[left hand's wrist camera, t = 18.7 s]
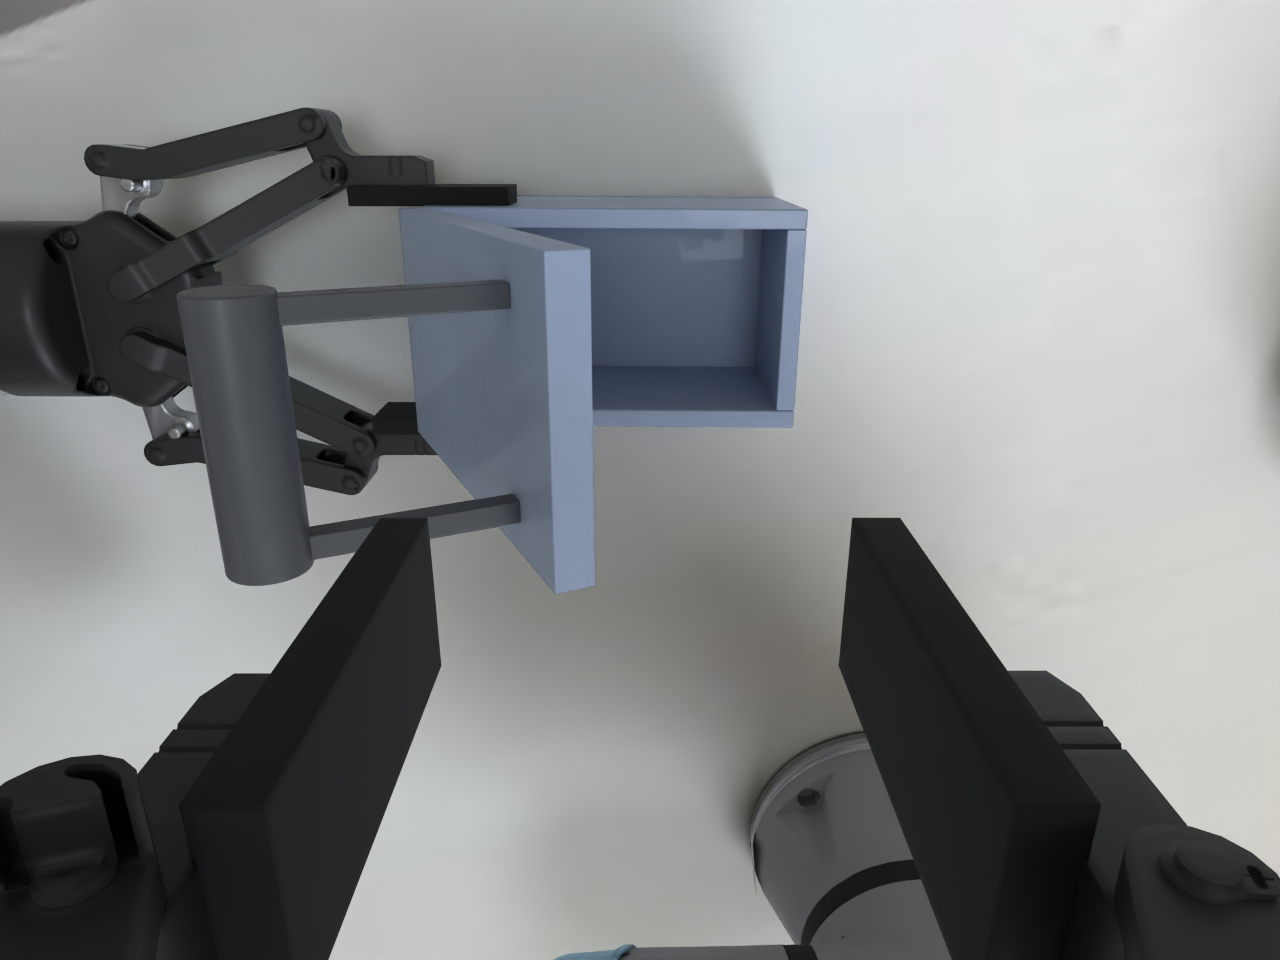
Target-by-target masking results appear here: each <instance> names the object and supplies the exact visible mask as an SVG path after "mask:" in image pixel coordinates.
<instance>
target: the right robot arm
mask: <svg viewBox="0 0 1280 960" xmlns="http://www.w3.org/2000/svg"><path fill="white" fill-rule="evenodd" d="M341 130H342V124H341V121H340V119H339V117H338V116H337V115H336V114H335V113H334V112H332V111H329V110H323V109H314V108H300V109H296V110H293V111H289V112H285V113H281V114H277V115H273V116H269V117H266V118H262V119H258V120H254V121H250V122H246V123H242V124H239V125H235V126H231V127H227V128H223V129H219V130H215V131H212V132H208V133H204V134H200V135H196V136H192V137H188V138H185V139H181V140H177V141H173V142H169V143H165V144H161V145H158V146H154V147H145V146H137V145H91V146H90V147H88V148H87V150H86V151H85V155H84V160H85V163H86V166H87V167H88V169H89V170H90V171H91V172H93V173H94V174H96V175H99V176H100V180H101V191H102V203H103V212H100V213H98V214H96V215H95V216H93V217H92V218H90V219H88V220H86V221H0V396H2V395H7V394H12V395H17V396H113V397H118V398H121V399H124V400H126V401H129V402H130V403H132V404H135V405H137V406H141V407H143V410H144V413H145V416H146V419H147V423H148V426H149V429H150V432H151V435H152V438H153V440H152V441H150V442H149V443H148V444H147V445H146V446H145V448H144V455H145V457H146V459H147V460H148V461H149V462H150V463H151V464H154V465H156V466H167V465H176V464H185V463H194V462H199V463H204V464H206V461H205V455H204V449H203V444H202V438H201V433H200V427H199V421H198V416H197V413H195V412H191V411H185V410H183V409H181V408H179V407H178V406H177V405H176V404H175V402H174V400H173V397H175V396H176V395H177V394H179V393H180V392H181V391H182V390H184V389H185V388H186V387H187V386H188V385H189V386H191V387H192V382H191V376H190V371H189V365H188V359H187V354H186V348H185V343H184V337H183V331H182V326H181V320H180V314H179V309H178V303H177V298H176V297H177V294H178V293H179V292H182V291H184V290H188V289H193V288H199V287H207V286H218V285H223V283H222V277H221V272H215V270H214V268H213V265H215V264H217V263H218V262H220V261H222V260H224V259H226V258H227V257H229V256H231V255H233V254H234V253H236V252H237V251H238V250H239V249H241V248H242V247H244V246H246V245H248V244H249V243H251V242H253V241H255V240H257V239H258V238H260V237H262V236H264V235H265V234H267V233H269V232H271V231H273V230H274V229H276V228H278V227H280V226H281V225H283V224H285V223H287V222H288V221H290V220H292V219H294V218H296V217H297V216H299V215H301V214H303V213H304V212H306V211H308V210H310V209H311V208H313V207H315V206H317V205H319V204H320V203H322V202H324V201H326V200H327V199H329V198H331V197H333V196H334V195H336V194H338V193H340V192H342V191H343V190H345V189H347V195H348V204H349V206H425V205H448V206H509V205H512V204H514V203H516V202H517V187H516V184H435V176H434V162H433V160H430V159H428V158H425V157H423V156H365V155H360V154H357V153H356V152H354V151H353V150H352V149H351V148H350V147H349V145H348V144H347V142H346V140H345V137H344V135H343V133H342V131H341ZM304 147H307V149H308V151H309V153H310V155H311V157H312V160H313V163H311V164H309V165H308V166H306V167H304V168H302V169H301V170H299V171H297V172H295V173H294V174H292V175H290V176H288V177H287V178H285V179H283V180H281V181H280V182H278V183H276V184H274V185H273V186H271V187H269V188H268V189H266V190H264V191H262V192H261V193H259V194H257V195H255V196H254V197H252V198H250V199H248V200H247V201H245V202H243V203H241V204H240V205H238V206H236V207H234V208H233V209H231V210H229V211H227V212H226V213H224V214H222V215H220V216H219V217H217V218H215V219H214V220H212V221H210V222H208V223H207V224H205V225H203V226H201V227H200V228H198V229H196V230H193V231H191V232H188V233H186V234H184V235H182V236H180V237H178V238H177V237H175V236H174V235H172V234H171V233H169V232H168V231H166V230H165V229H163V228H162V227H160V226H159V225H157V224H156V223H154V222H153V221H151V220H150V219H148V218H147V217H145V216H144V215H142V214H140V213H139V212H138V209H139V205H140V203H141V202H142V201H143V200H144V199H146V198H152V197H155V196H157V195H158V194H159V193H160V192H161V189H162V186H163V181H162V179H175V178H185V177H190V176H195V175H198V174H202V173H206V172H210V171H214V170H218V169H222V168H226V167H230V166H234V165H238V164H242V163H245V162H249V161H253V160H257V159H261V158H265V157H269V156H273V155H277V154H281V153H285V152H288V151H292V150H296V149H300V148H304ZM289 382H290V389H291V396H292V404H293V411H294V418H295V425H296V429H297V430H299V431H301V432H303V433H305V434H308V435H310V436H312V437H314V438H316V439H319V440H321V441H323V442H325V443H327V444H329V445H325V444H321V443H316V442H312V441H307V440H303V439H298V438H297V440H298V447H299V455H300V462H301V469H302V476H303V484H304V485H306V486H311V487H315V488H320V489H324V490H329V491H334V492H338V493H343V494H348V495H355V494H358V493H359V492H360V491H362V489H363V488H364V487H365V486H366V485H367V483H368V482H369V481H370V480H371V478H372V477H373V476H374V475H375V473H376V472H377V470H378V460H379V457H380V456H382V455H438V454H437V453H436V452H435V451H434V450H433V448H432V447H431V446H430V445H429V444H428V442H427V441H426V440H425V439H424V438H423V436H422V435H421V434H420V433H419V432H418V423H417V412H416V402H388V403H387V404H386V405H385V406H384V407H383V408H382V409H381V410H380V411H379V412H378V413H377V414H376V415H375V416H374V415H371V414H369V413H367V412H365V411H363V410H361V409H359V408H356V407H354V406H352V405H350V404H348V403H346V402H344V401H341V400H339V399H337V398H335V397H333V396H331V395H329V394H326V393H324V392H322V391H320V390H318V389H316V388H314V387H311V386H309V385H307V384H305V383H303V382H301V381H299V380H296V379H294V378H292V377H290V376H289ZM330 445H332V446H330Z"/></svg>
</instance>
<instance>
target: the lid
mask: <svg viewBox="0 0 1280 960" xmlns="http://www.w3.org/2000/svg"><path fill="white" fill-rule="evenodd" d="M399 216H400V228H401V239H402V251H403V262H404V274H405V285H398V286H381V287H364V288H347V289H330V290H313V291H296V292H279V293H277V290H276V289H275V288H273V287H270V286H264V285H218V286H207V287H199V288H193V289H188V290H184V291H182V292H179V293H178V294H177V297H176V298H177V303H178V309H179V314H180V320H181V326H182V331H183V337H184V343H185V348H186V354H187V359H188V365H189V371H190V376H191V382H192V388H193V393H194V399H195V404H196V410H197V416H198V421H199V427H200V433H201V438H202V444H203V449H204V455H205V461H206V466H207V472H208V478H209V483H210V489H211V494H212V500H213V506H214V511H215V517H216V523H217V528H218V534H219V539H220V545H221V551H222V556H223V562H224V568H225V573H226V576H227V577H228V579H229V580H231V581H232V582H234V583H237V584H241V585H248V586H262V585H271V584H276V583H281V582H285V581H288V580H291V579H293V578H296V577H298V576H300V575H302V574H304V573H305V572H307V571H308V570H309V569H310V568H311V567H312V565H313V562H314V560H315V559H320V558H326V557H331V556H337V555H343V554H348V553H354V552H357V550H358V549H359V547H360V546H361V544H362V543H363V542H364V540H365V539H366V537H367V536H368V534H369V533H370V532H371V530H372V529H373V527H374V526H375V524H376V523H377V522H378V520H379V519H380V518H428V527H429V538H430V539H432V538H438V537H443V536H449V535H454V534H460V533H466V532H471V531H477V530H482V529H488V528H494V527H499V528H500V529H501V530H502V532H503V533H504V534H505V535H506V536H507V537H508V539H509V540H510V541H511V542H512V543H513V545H514V546H515V547H516V548H517V549H518V551H519V552H520V553H521V554H522V555H523V557H524V558H525V559H526V560H527V561H528V562H529V564H530V565H531V566H532V567H533V568H534V570H535V571H536V572H537V573H538V574H539V576H540V577H541V578H542V579H543V580H544V581H545V583H546V584H547V585H548V586H549V587H550V589H551V590H552V591H553V592H554V593H555V594H558V593H563V592H568V591H572V590H577V589H581V588H586V587H591V586H594V585H595V552H594V480H593V408H592V336H591V264H590V249H589V248H586V247H582V246H578V245H574V244H570V243H566V242H562V241H558V240H554V239H550V238H547V237H543V236H539V235H535V234H531V233H527V232H523V231H519V230H515V229H511V228H507V227H503V226H499V225H495V224H491V223H487V222H483V221H479V220H475V219H471V218H467V217H463V216H459V215H455V214H452V213H448V212H444V211H440V210H436V209H432V208H400V209H399ZM405 316H408V320H409V331H410V343H411V354H412V366H413V377H414V389H415V400H416V412H417V423H418V432H419V433H420V434H421V435H422V436H423V438H424V439H425V440H426V441H427V442H428V444H429V445H430V446H431V447H432V448H433V450H434V451H435V452H436V453H437V454H438V455H439V457H440V458H441V459H442V460H443V461H444V463H445V464H446V465H447V466H448V467H449V469H450V470H451V471H452V472H453V473H454V474H455V476H456V477H457V478H458V479H459V480H460V482H461V483H462V484H463V485H464V486H465V488H466V489H467V490H468V491H469V492H470V494H471V495H472V496H473V497H474V498H475V499H476V500H470V501H464V502H458V503H452V504H446V505H440V506H434V507H427V508H421V509H415V510H409V511H403V512H397V513H391V514H385V515H379V516H372V517H366V518H360V519H354V520H348V521H342V522H336V523H330V524H324V525H318V526H311V527H309V520H308V513H307V505H306V498H305V491H304V484H303V476H302V469H301V462H300V455H299V447H298V440H297V433H296V425H295V418H294V411H293V404H292V396H291V389H290V382H289V375H288V367H287V360H286V353H285V346H284V338H283V331H282V325H296V324H310V323H323V322H337V321H350V320H364V319H378V318H391V317H405Z"/></svg>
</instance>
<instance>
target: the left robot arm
mask: <svg viewBox="0 0 1280 960" xmlns="http://www.w3.org/2000/svg"><path fill="white" fill-rule="evenodd" d="M440 667H441V658H440V647H439V636H438V625H437V614H436V603H435V592H434V582H433V571H432V560H431V549H430V538H429V527H428V518H380V519H379V520H378V522H377V523H376V524H375V526H374V527H373V529H372V530H371V532H370V533H369V534H368V536H367V537H366V539H365V540H364V542H363V543H362V544H361V546H360V547H359V549H358V550H357V552H356V553H355V554H354V556H353V557H352V559H351V560H350V561H349V563H348V564H347V566H346V567H345V569H344V570H343V571H342V573H341V574H340V576H339V577H338V579H337V580H336V581H335V583H334V584H333V586H332V587H331V589H330V590H329V591H328V593H327V594H326V596H325V597H324V598H323V600H322V601H321V603H320V604H319V606H318V607H317V608H316V610H315V611H314V613H313V614H312V616H311V617H310V618H309V620H308V621H307V623H306V624H305V626H304V627H303V628H302V630H301V631H300V633H299V634H298V635H297V637H296V638H295V640H294V641H293V643H292V644H291V645H290V647H289V648H288V650H287V651H286V653H285V654H284V655H283V657H282V658H281V660H280V661H279V663H278V664H277V665H276V667H275V668H274V670H273V671H272V673H271V674H233V675H231V676H230V677H228V678H227V679H225V680H224V681H222V682H221V683H220V684H218V685H217V686H215V687H214V688H212V689H211V690H209V691H208V692H206V693H205V694H203V695H202V696H200V697H199V698H198V699H197V701H196V702H195V703H194V704H193V706H192V707H191V708H190V709H189V711H188V712H187V713H186V714H185V716H184V717H183V718H182V719H181V721H180V722H179V723H178V728H177V730H173V731H172V732H171V733H170V734H169V736H168V737H167V738H166V739H165V741H164V742H163V743H162V744H161V746H160V750H159V753H154V754H153V756H152V757H151V758H150V759H149V760H148V762H147V763H146V764H145V765H144V767H143V768H142V769H141V770H140V772H139V773H138V774H137V771H136V769H135V768H133V767H132V766H131V765H130V764H129V763H127V762H126V761H125V760H124V759H120V758H115V757H110V756H104V755H91V756H80V757H70V758H66V759H63V760H59V761H56V762H52V763H49V764H45V765H42V766H38V767H36V768H34V769H32V770H30V771H28V772H25V773H23V774H21V775H19V776H17V777H15V778H13V779H11V780H9V781H7V782H5V783H4V784H2V785H1V786H0V960H328V959H329V957H330V954H331V951H332V949H333V946H334V944H335V941H336V938H337V936H338V933H339V931H340V928H341V925H342V923H343V920H344V918H345V915H346V912H347V910H348V907H349V904H350V902H351V899H352V897H353V894H354V891H355V889H356V886H357V884H358V881H359V878H360V876H361V873H362V871H363V868H364V865H365V863H366V860H367V858H368V855H369V852H370V850H371V847H372V845H373V842H374V839H375V837H376V834H377V832H378V829H379V826H380V824H381V821H382V819H383V816H384V813H385V811H386V808H387V806H388V803H389V800H390V798H391V795H392V792H393V790H394V787H395V785H396V782H397V779H398V777H399V774H400V772H401V769H402V766H403V764H404V761H405V759H406V756H407V753H408V751H409V748H410V746H411V743H412V740H413V738H414V735H415V733H416V730H417V727H418V725H419V722H420V720H421V717H422V714H423V712H424V709H425V707H426V704H427V701H428V699H429V696H430V694H431V691H432V688H433V686H434V683H435V681H436V678H437V675H438V673H439V670H440ZM839 667H840V670H841V673H842V675H843V678H844V680H845V683H846V686H847V688H848V691H849V693H850V696H851V699H852V701H853V704H854V707H855V709H856V712H857V714H858V717H859V720H860V722H861V725H862V727H863V730H864V733H860V734H854V735H848V736H844V737H840V738H837V739H833V740H830V741H828V742H825V743H822V744H820V745H818V746H816V747H813V748H811V749H809V750H808V751H806V752H804V753H802V754H801V755H799V756H798V757H796V758H795V759H793V760H792V761H791V762H789V763H788V764H787V765H786V766H785V767H783V768H782V769H781V770H780V771H779V772H778V773H777V774H776V775H775V776H774V777H773V779H772V780H771V781H770V782H769V784H768V785H767V786H766V788H765V789H764V791H763V792H762V794H761V796H760V798H759V800H758V802H757V804H756V807H755V809H754V812H753V816H752V820H751V827H750V843H751V851H752V859H753V871H754V882H755V888H756V881H755V872H756V876H757V878H758V881H759V883H760V885H761V888H762V890H763V892H764V894H765V896H766V898H767V899H768V901H769V903H770V904H771V906H772V908H773V909H774V911H775V913H776V914H777V916H778V917H779V919H780V921H781V922H782V924H783V925H784V927H785V929H786V930H787V932H788V933H789V935H790V937H791V938H792V940H793V942H794V943H795V945H756V946H713V947H652V948H637V947H635V946H634V945H630V944H627V945H623V946H621V947H619V948H617V949H616V950H609V951H597V952H585V953H573V954H566V955H563V956H560V957H558V958H556V959H554V960H1280V878H1279V876H1278V875H1277V873H1275V872H1274V871H1273V870H1272V869H1271V868H1269V867H1268V866H1267V865H1266V864H1265V863H1263V862H1262V861H1261V860H1260V859H1259V858H1257V857H1256V856H1255V855H1254V854H1253V853H1251V852H1249V851H1248V850H1246V849H1244V848H1242V847H1240V846H1238V845H1236V844H1235V843H1233V842H1231V841H1229V840H1227V839H1225V838H1223V837H1222V836H1218V835H1215V834H1212V833H1209V832H1206V831H1203V830H1200V829H1197V828H1193V827H1190V826H1187V825H1186V823H1185V822H1184V821H1183V820H1182V818H1181V817H1180V816H1179V815H1178V813H1177V812H1176V811H1175V810H1174V808H1173V807H1172V806H1171V805H1170V804H1169V802H1168V801H1167V800H1166V799H1165V797H1164V796H1163V795H1162V794H1161V792H1160V791H1159V790H1158V789H1157V787H1156V786H1155V785H1154V784H1153V782H1152V781H1151V780H1150V779H1149V778H1148V776H1147V775H1146V774H1145V773H1144V771H1143V770H1142V769H1141V768H1140V766H1139V765H1138V764H1137V763H1136V761H1135V760H1134V759H1133V758H1132V756H1131V755H1130V754H1129V753H1128V752H1127V750H1122V748H1121V743H1120V742H1119V740H1118V739H1117V738H1116V737H1115V735H1114V734H1113V733H1112V732H1111V730H1110V729H1109V728H1108V727H1104V726H1103V721H1102V719H1101V718H1100V717H1099V716H1098V714H1097V713H1096V712H1095V711H1094V709H1093V708H1092V707H1091V706H1090V704H1089V703H1088V702H1087V701H1086V700H1085V698H1084V697H1083V696H1082V695H1081V694H1080V693H1079V692H1077V691H1076V690H1074V689H1073V688H1071V687H1070V686H1068V685H1067V684H1065V683H1064V682H1062V681H1061V680H1059V679H1058V678H1056V677H1055V676H1053V675H1052V674H1050V673H1049V672H1047V671H1007V670H1006V668H1005V667H1004V665H1003V664H1002V663H1001V661H1000V660H999V658H998V657H997V655H996V654H995V653H994V651H993V650H992V648H991V647H990V645H989V644H988V643H987V641H986V640H985V638H984V637H983V635H982V634H981V633H980V631H979V630H978V628H977V627H976V626H975V624H974V623H973V621H972V620H971V618H970V617H969V616H968V614H967V613H966V611H965V610H964V608H963V607H962V606H961V604H960V603H959V601H958V600H957V598H956V597H955V596H954V594H953V593H952V591H951V590H950V589H949V587H948V586H947V584H946V583H945V581H944V580H943V579H942V577H941V576H940V574H939V573H938V571H937V570H936V569H935V567H934V566H933V564H932V563H931V561H930V560H929V559H928V557H927V556H926V554H925V553H924V551H923V550H922V549H921V547H920V546H919V544H918V543H917V542H916V540H915V539H914V537H913V536H912V534H911V533H910V532H909V530H908V529H907V527H906V526H905V524H904V523H903V522H902V520H901V519H900V518H852V527H851V538H850V549H849V560H848V571H847V582H846V593H845V603H844V614H843V625H842V636H841V647H840V658H839ZM756 894H757V893H756Z"/></svg>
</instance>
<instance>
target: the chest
mask: <svg viewBox="0 0 1280 960" xmlns="http://www.w3.org/2000/svg"><path fill="white" fill-rule="evenodd" d="M419 208H432V209H436V210H440V211H444V212H448V213H452V214H455V215H459V216H463V217H467V218H471V219H475V220H479V221H483V222H487V223H491V224H495V225H499V226H503V227H507V228H511V229H515V230H519V231H523V232H527V233H531V234H535V235H539V236H543V237H547V238H550V239H554V240H558V241H562V242H566V243H570V244H574V245H578V246H582V247H586V248H589V249H590V264H591V336H592V408H593V426H646V427H780V428H791V427H792V426H793V417H794V412H793V410H794V404H795V389H796V375H797V361H798V346H799V332H800V318H801V303H802V289H803V274H804V260H805V246H806V230H805V229H806V228H807V216H808V210H807V209H804V208H802V207H799V206H797V205H794V204H791V203H789V202H786V201H784V200H781V199H779V198H776V197H632V196H517V202H516V203H514V204H512V205H509V206H448V205H425V206H422V207H419Z"/></svg>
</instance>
